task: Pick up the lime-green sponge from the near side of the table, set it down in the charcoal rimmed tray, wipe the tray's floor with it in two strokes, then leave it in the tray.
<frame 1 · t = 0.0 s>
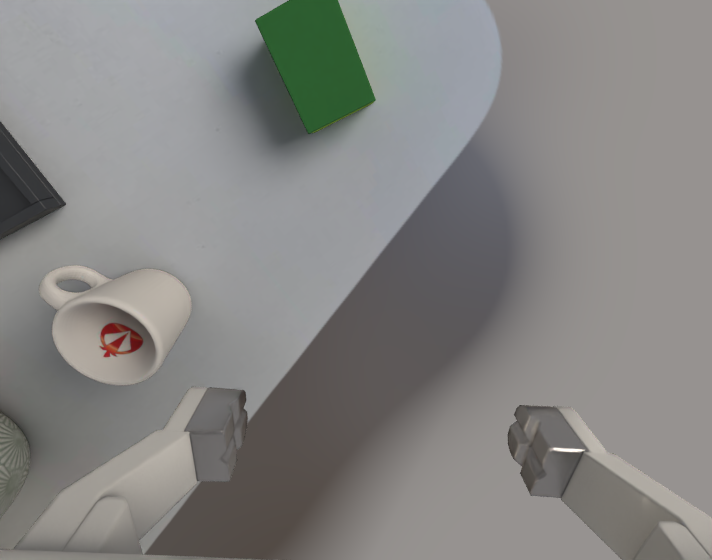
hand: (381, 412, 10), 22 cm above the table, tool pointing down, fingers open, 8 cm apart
cup: (148, 287, 33), on the table
sponge: (322, 70, 26), on the table
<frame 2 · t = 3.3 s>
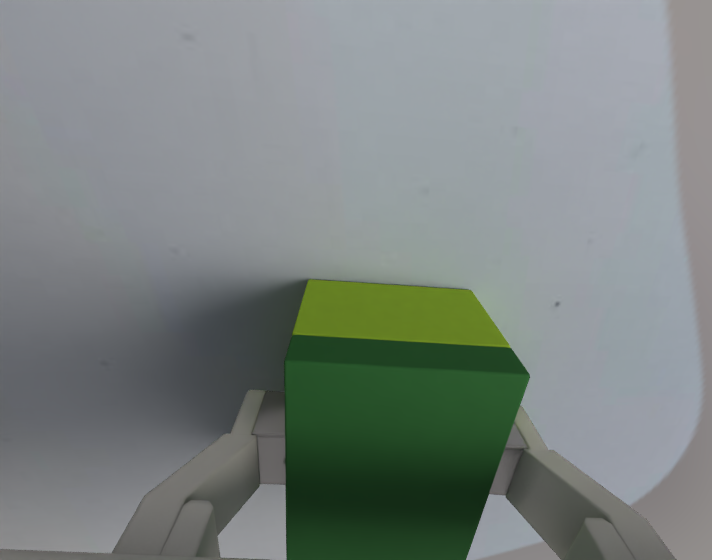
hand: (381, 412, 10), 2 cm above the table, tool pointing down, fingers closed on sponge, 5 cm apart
sponge: (378, 375, 12), on the table, touching gripper
when the fingers open (2 cm above the table, at t = 15.6 s): sponge stays where it is, resting on tray.
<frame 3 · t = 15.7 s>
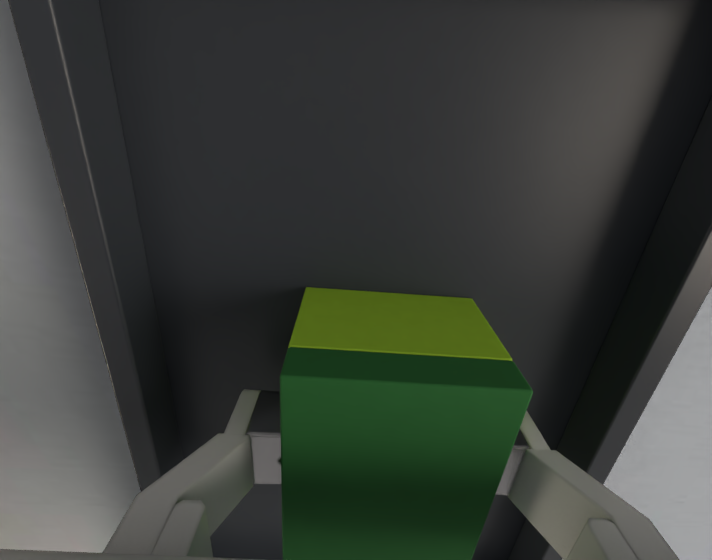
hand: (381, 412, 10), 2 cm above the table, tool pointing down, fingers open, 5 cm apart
tray: (377, 368, 12), on the table
sponge: (377, 384, 12), point 1 cm above the table, touching tray
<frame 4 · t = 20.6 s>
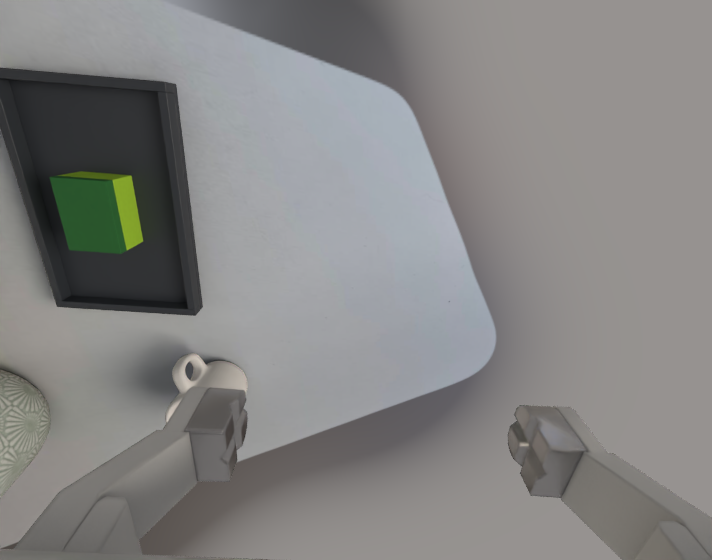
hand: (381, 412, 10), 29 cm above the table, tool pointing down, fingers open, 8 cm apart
cup: (219, 368, 46), on the table
tray: (116, 204, 37), on the table
planter: (11, 396, 48), on the table
sponge: (113, 207, 36), point 1 cm above the table, touching tray
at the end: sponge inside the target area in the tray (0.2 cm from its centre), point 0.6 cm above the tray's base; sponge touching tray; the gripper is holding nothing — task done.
